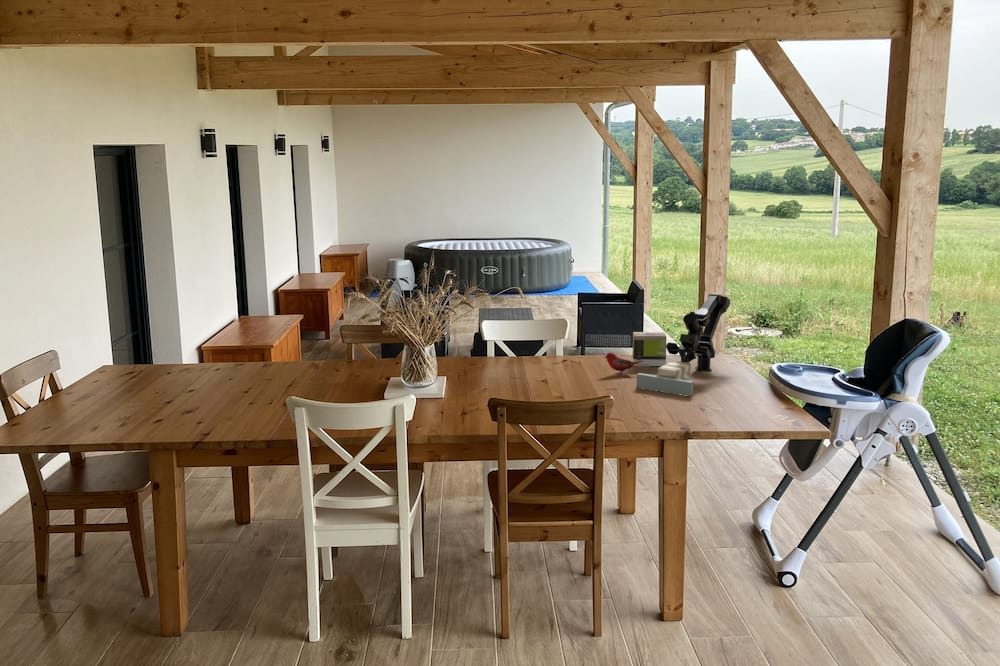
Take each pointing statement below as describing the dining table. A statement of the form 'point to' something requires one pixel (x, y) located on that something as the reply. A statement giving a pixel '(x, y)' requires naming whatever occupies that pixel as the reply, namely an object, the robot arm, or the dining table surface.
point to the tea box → (649, 348)
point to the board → (665, 384)
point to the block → (676, 370)
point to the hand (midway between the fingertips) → (682, 366)
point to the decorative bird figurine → (619, 363)
